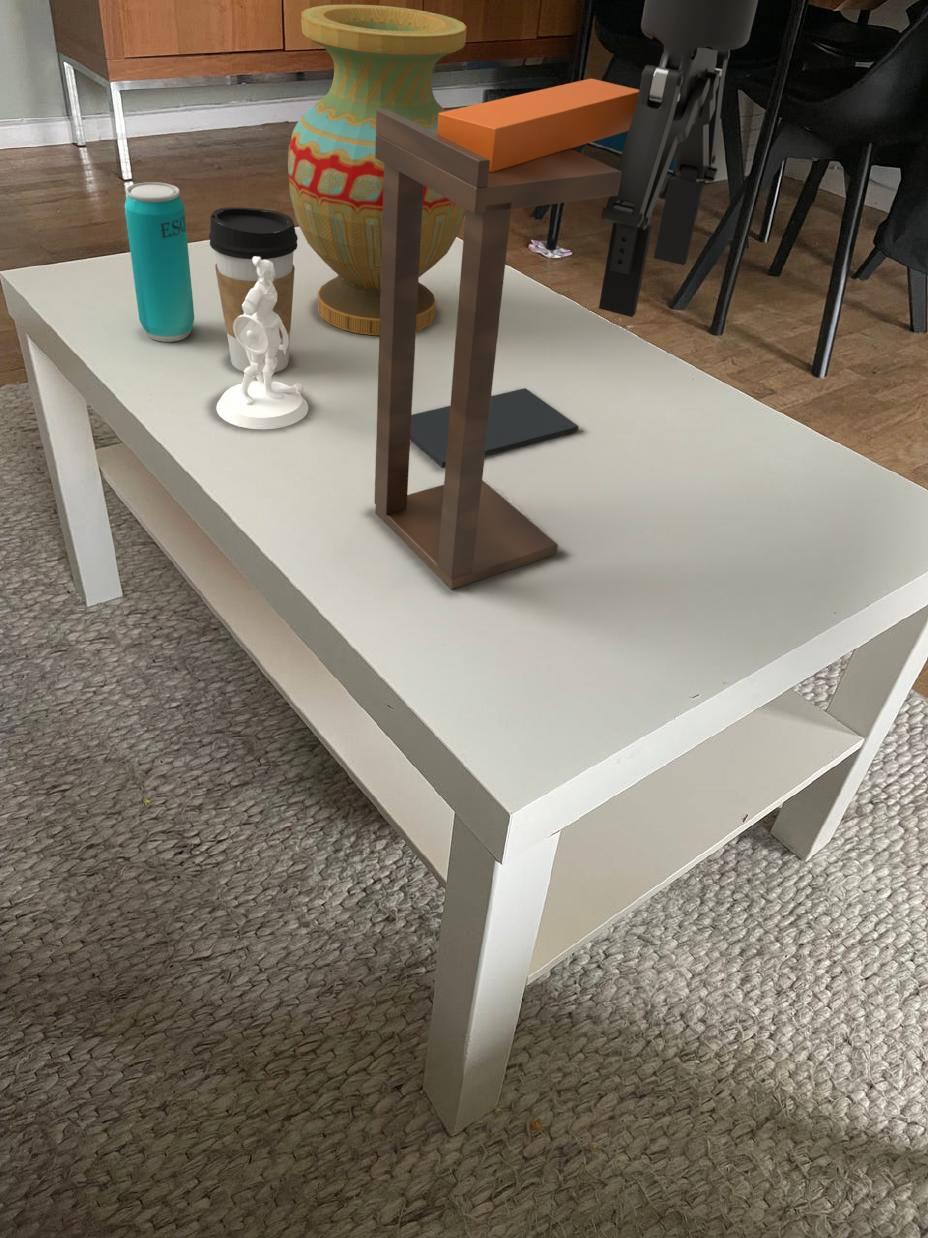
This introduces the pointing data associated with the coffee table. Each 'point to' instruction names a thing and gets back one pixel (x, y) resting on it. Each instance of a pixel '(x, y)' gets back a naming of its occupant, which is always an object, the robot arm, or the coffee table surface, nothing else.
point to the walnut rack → (465, 505)
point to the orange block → (540, 121)
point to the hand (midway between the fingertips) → (644, 284)
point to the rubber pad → (494, 425)
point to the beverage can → (160, 260)
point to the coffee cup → (252, 267)
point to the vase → (367, 151)
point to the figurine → (261, 363)
